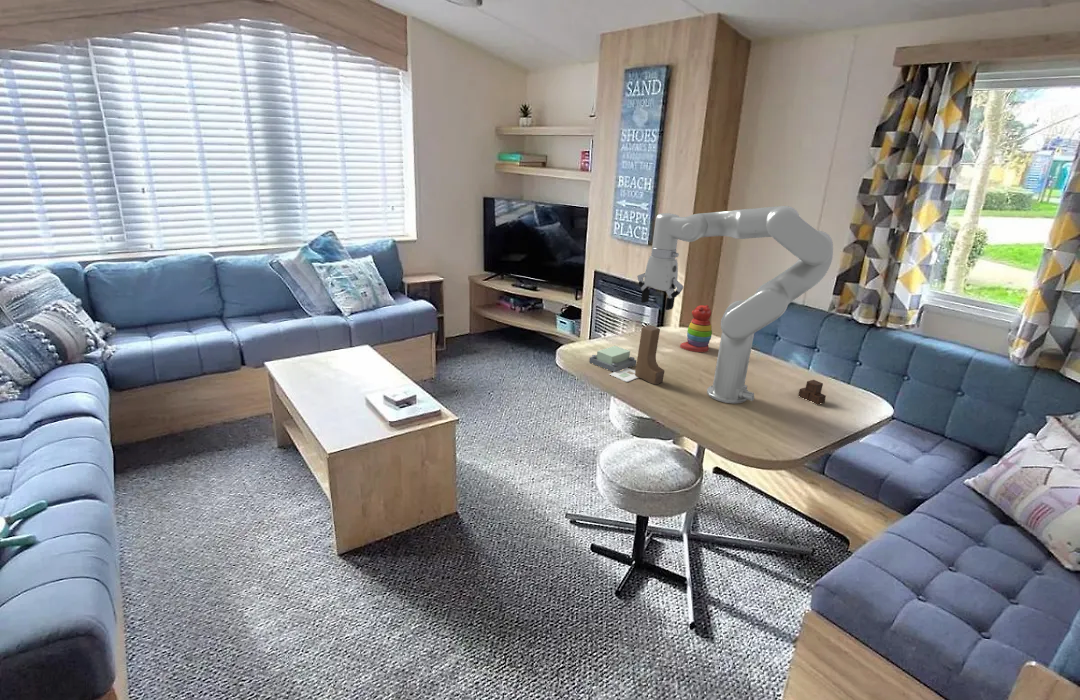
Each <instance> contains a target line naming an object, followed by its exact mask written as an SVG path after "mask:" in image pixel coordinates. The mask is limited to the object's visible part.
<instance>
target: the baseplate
mask: <svg viewBox="0 0 1080 700" xmlns="http://www.w3.org/2000/svg"><path fill="white" fill-rule="evenodd" d="M596 352H597V353H596V354H592V355H591V356H590V357H589V361H588V362H590V363H589V364H591V363H593V364H592V365H594V364H595V365H594V366H596V365H598V366H597V367H599V366H600V368H601V367H603V368H602V369H604V368H605V369H604V370H606V369H608V370H607V371H609V370H610V371H609V372H611V371H613V372H616V371H619V370H622V369H625V368H628V367H630V368H632V367H636V364H637V359H635V357H633V356H630V355H631V350H629V349H627V348H626V349H625V348H623V347H620V346H617V345H613V346H609V347H606V348H603V349H600V350H597V351H596ZM631 366H632V367H631ZM613 372H612V373H613Z"/></svg>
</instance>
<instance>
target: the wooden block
mask: <svg viewBox="0 0 1080 700" xmlns="http://www.w3.org/2000/svg"><path fill="white" fill-rule="evenodd" d="M660 331H661V328H659V327H656V326H653V325H651V324H650V325H645V326H642V327H641V331H640V336H639V337H640V339H639V344H638V350H637V351H638V352H637V359H636V365H635V376H637V377H639V378H638V379H641V380H644V381H646V382H648V383H650V384H652V385H654V386H655V385H658V384H661V383H663V382H664V377H665V369H663V368H662V367H660V366H659V364H658V363H657V350H658V346H659V345H658V344H659V337H660V334H661V333H660Z"/></svg>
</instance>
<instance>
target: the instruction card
mask: <svg viewBox="0 0 1080 700" xmlns="http://www.w3.org/2000/svg"><path fill="white" fill-rule="evenodd" d="M635 371H636V369H632V368H631V367H630V368H625V369H624V370H623V371H620V370H619V371H616V372H611V373H608V376H610V375H611V377H613V376H614V377H613V378H615V377H616V379H618V380H621V381H623V382H625V383H628V382H631V381H634V380H636V379H640V378H639V377H637V376H635Z"/></svg>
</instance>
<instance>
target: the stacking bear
mask: <svg viewBox="0 0 1080 700" xmlns="http://www.w3.org/2000/svg"><path fill="white" fill-rule="evenodd" d="M691 316H692V317H693V318H692V319H691V322H690V323H689V325H688V328H687V334H686V339H687V341H685V342H681V343H680V346H679V347H680V348H681V349H683V350H686V351H688V352H689V351H690V352H695V353H706V352H708V351H709V349H710V347H709V344H710V341H711V339H712V335H713V329H712V327H713V326H712V323H711V321H710V318H711V316H712V310H711V308H710V306H709V305H708V304H706V305H702V304H700V305H698V306H696V307H695V308H694V309H693V310H692V311H691Z"/></svg>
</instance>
